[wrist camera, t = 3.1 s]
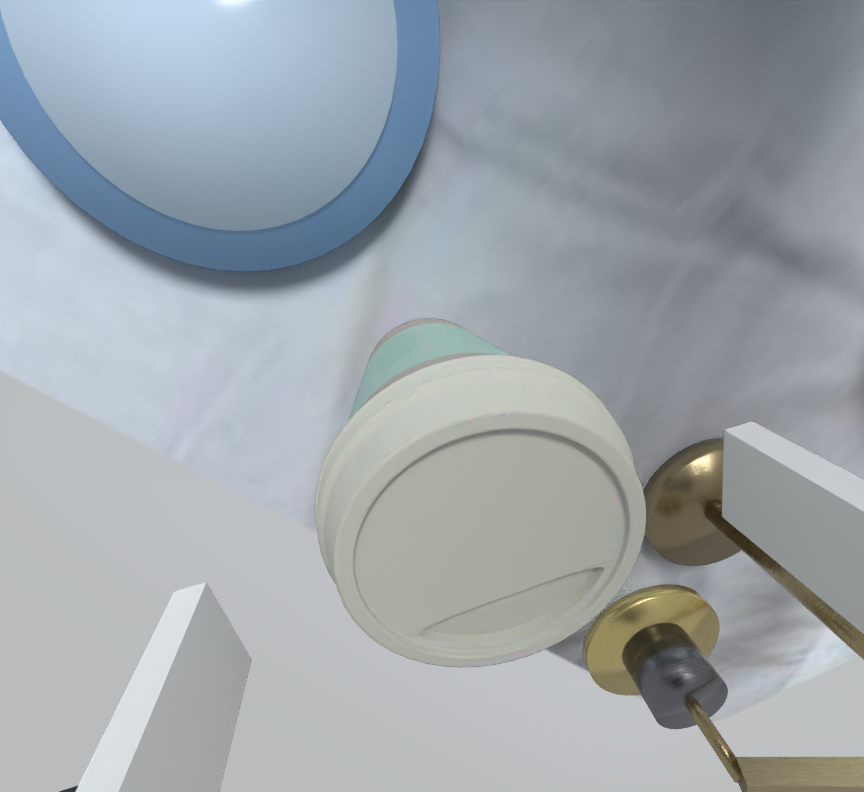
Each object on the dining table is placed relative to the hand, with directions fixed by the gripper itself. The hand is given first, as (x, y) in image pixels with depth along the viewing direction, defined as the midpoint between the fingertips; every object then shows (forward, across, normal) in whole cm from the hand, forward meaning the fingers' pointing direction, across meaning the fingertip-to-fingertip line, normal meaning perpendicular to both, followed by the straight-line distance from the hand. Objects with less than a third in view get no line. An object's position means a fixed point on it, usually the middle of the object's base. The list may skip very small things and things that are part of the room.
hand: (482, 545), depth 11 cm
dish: (+11, -4, +14) cm, 19 cm away
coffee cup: (+11, 0, 0) cm, 11 cm away
